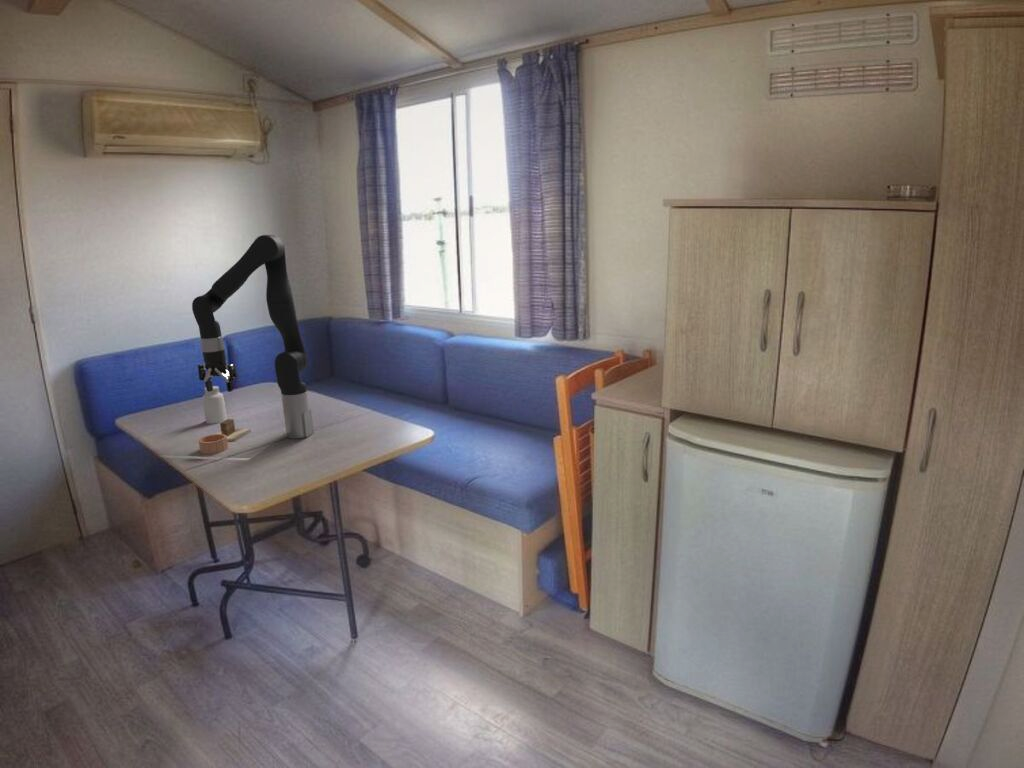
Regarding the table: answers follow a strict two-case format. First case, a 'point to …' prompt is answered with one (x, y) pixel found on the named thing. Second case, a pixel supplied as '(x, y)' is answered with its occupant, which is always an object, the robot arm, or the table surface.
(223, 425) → the lid
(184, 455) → the table surface
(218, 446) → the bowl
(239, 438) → the mat
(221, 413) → the pill bottle
